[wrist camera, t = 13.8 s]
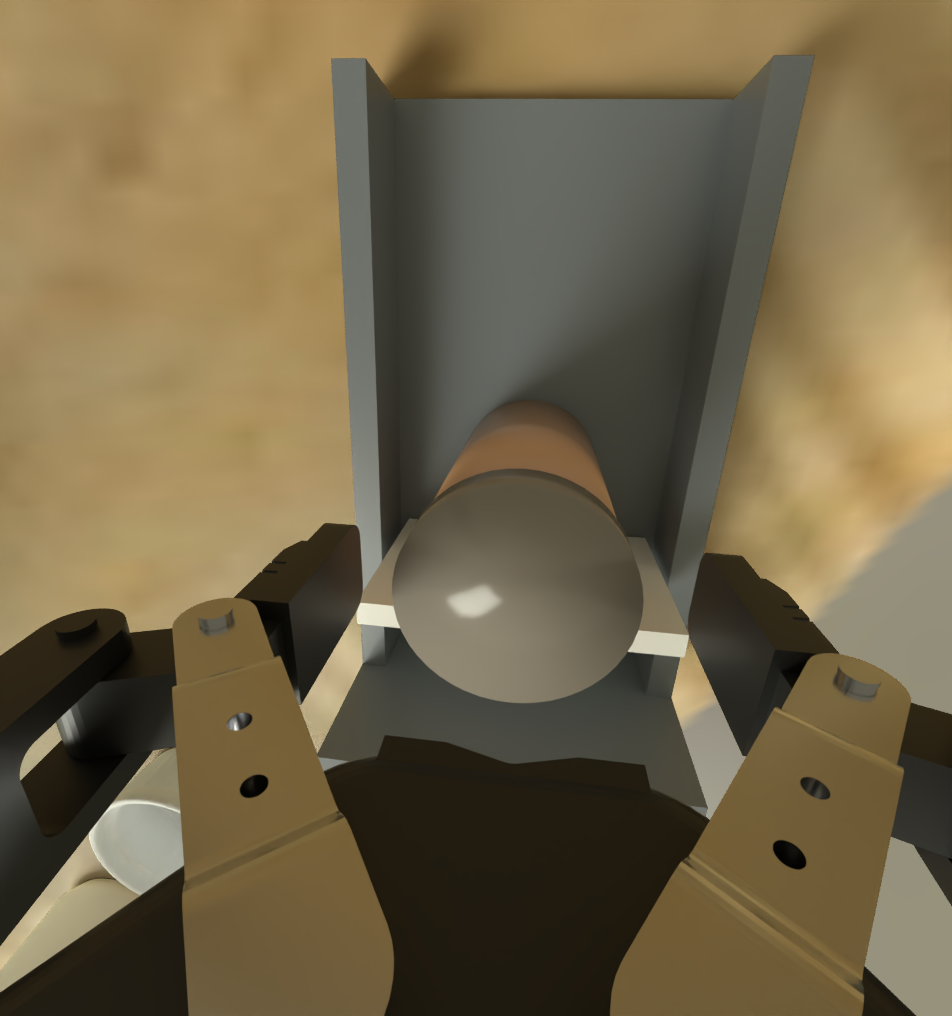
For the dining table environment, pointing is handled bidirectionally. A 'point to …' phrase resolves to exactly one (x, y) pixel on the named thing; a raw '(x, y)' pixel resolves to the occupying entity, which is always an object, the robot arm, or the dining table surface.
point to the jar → (520, 564)
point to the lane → (550, 352)
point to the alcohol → (66, 924)
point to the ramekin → (143, 828)
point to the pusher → (654, 636)
